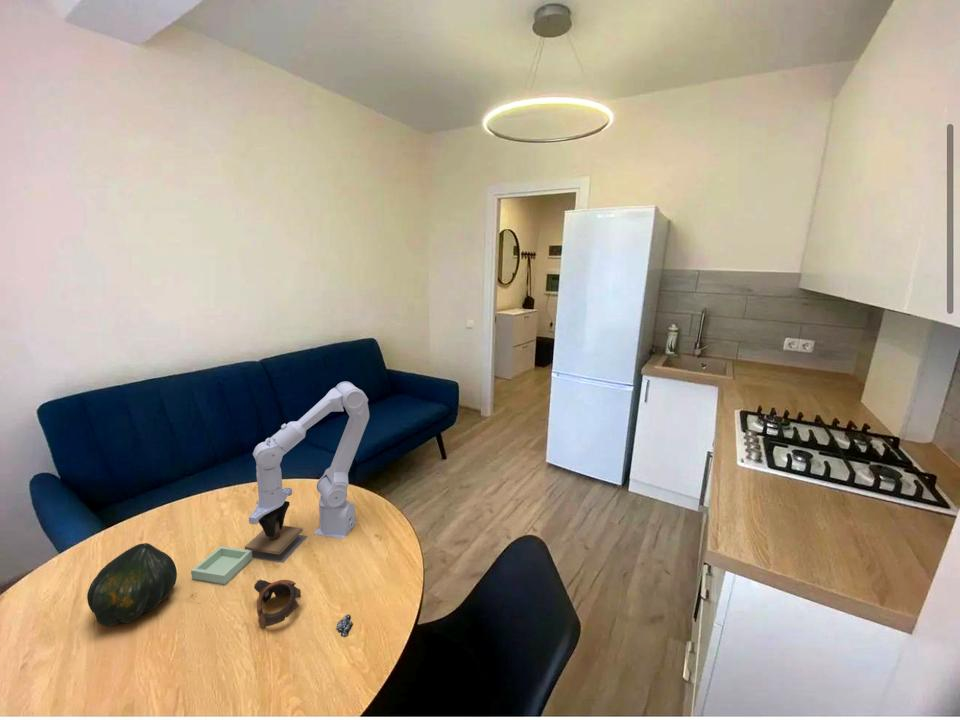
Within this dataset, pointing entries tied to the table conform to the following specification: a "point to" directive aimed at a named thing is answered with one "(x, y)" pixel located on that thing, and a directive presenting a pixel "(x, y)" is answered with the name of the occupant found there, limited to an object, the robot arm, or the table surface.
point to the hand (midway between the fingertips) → (274, 532)
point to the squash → (131, 585)
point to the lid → (274, 540)
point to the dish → (221, 565)
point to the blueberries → (344, 626)
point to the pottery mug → (279, 589)
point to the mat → (283, 555)
